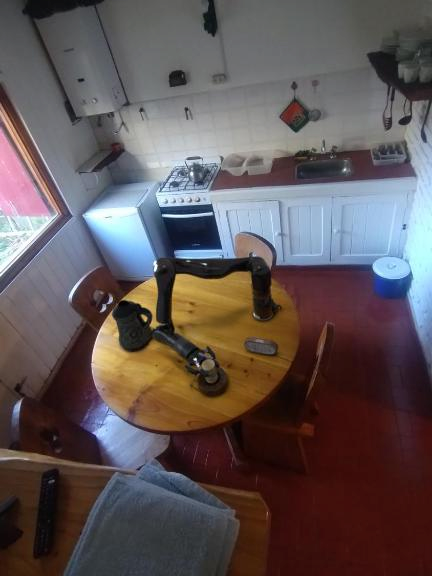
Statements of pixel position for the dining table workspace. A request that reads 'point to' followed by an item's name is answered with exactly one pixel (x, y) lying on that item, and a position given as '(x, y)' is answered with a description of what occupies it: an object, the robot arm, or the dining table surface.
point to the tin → (261, 345)
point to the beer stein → (132, 325)
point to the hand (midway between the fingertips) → (213, 370)
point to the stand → (215, 387)
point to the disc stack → (210, 370)
